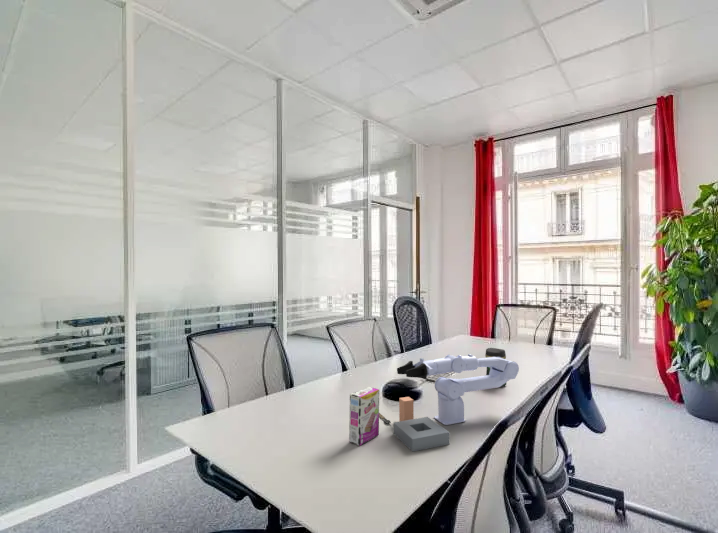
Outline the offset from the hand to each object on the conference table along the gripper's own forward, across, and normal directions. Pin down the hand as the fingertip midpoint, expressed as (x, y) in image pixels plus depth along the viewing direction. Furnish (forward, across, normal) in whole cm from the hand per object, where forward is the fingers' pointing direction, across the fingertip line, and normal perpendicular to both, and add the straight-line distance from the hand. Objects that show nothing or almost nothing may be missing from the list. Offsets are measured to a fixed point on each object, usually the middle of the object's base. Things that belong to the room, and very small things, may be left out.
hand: (401, 372), depth 135 cm
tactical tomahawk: (+6, -17, +19) cm, 26 cm away
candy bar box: (+17, +1, +20) cm, 27 cm away
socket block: (-1, +8, +22) cm, 23 cm away
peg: (-2, -6, +20) cm, 21 cm away
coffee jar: (-67, -33, +21) cm, 77 cm away
